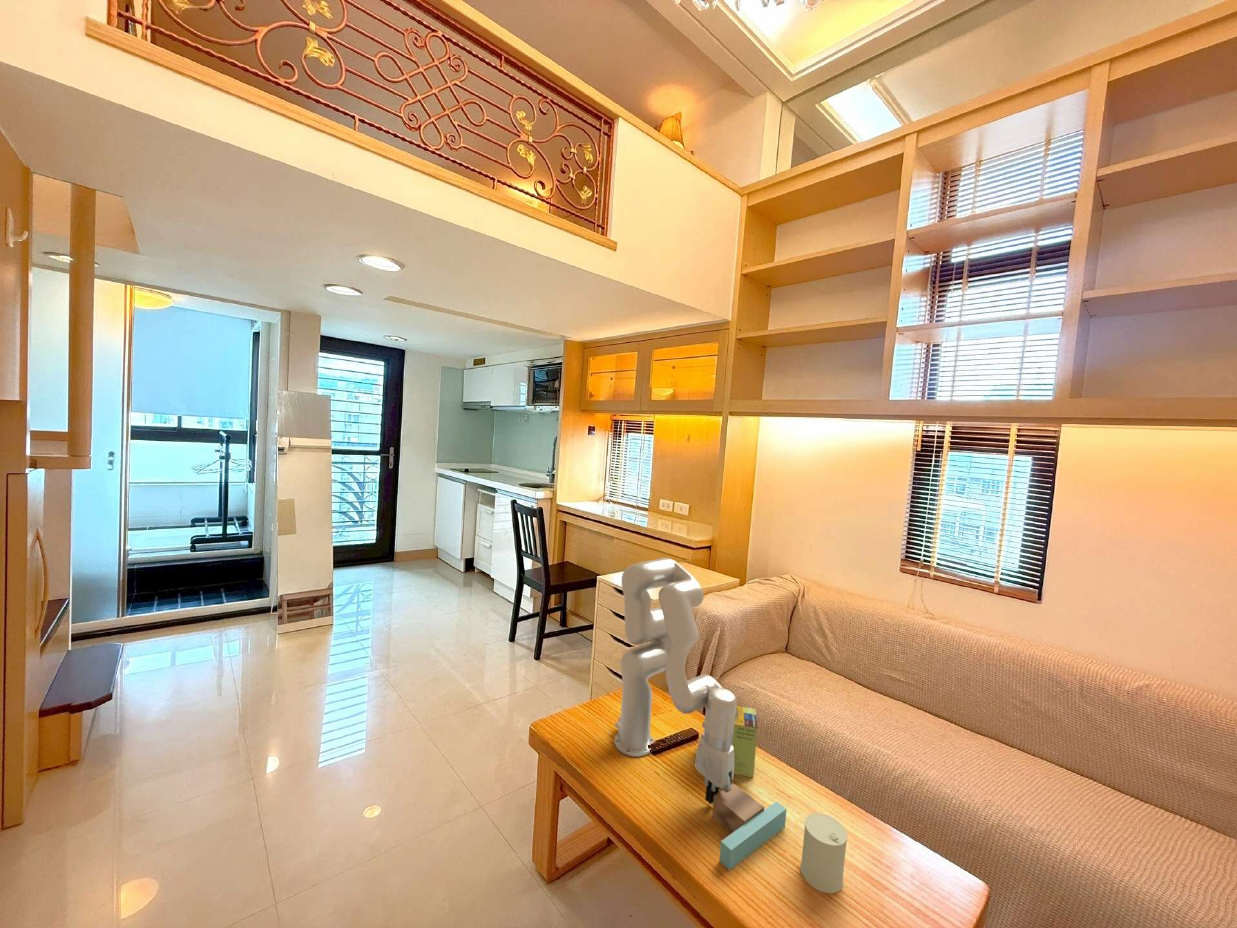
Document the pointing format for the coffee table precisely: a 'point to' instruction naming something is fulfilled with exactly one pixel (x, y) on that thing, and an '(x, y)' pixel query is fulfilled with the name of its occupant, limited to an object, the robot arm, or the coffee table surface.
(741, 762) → the protein box
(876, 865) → the coffee table surface
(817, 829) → the can
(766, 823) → the teal board
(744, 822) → the brown block
